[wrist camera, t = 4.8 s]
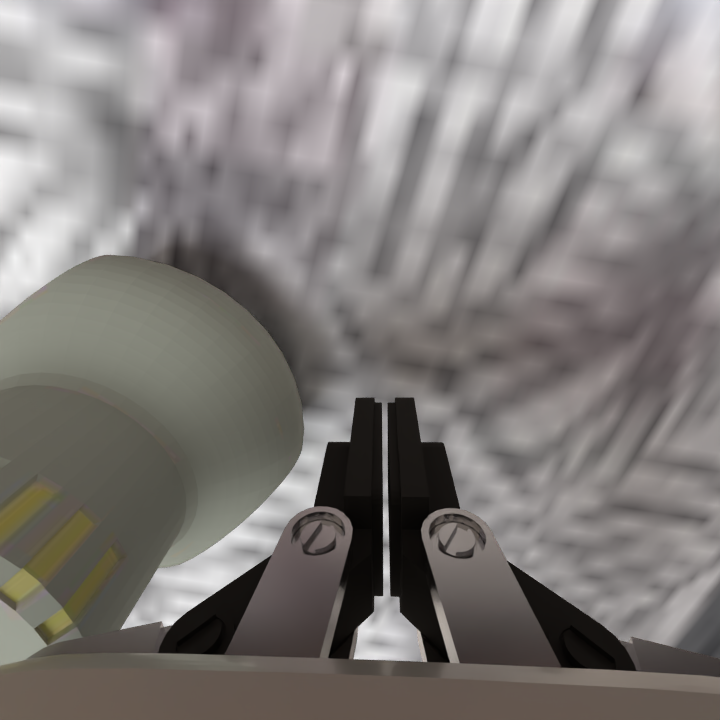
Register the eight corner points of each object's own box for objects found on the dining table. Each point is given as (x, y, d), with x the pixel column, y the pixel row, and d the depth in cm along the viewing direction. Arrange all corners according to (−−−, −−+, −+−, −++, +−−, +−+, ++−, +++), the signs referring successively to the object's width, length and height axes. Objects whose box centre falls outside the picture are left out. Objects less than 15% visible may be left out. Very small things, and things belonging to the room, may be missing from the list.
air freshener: (175, 506, 18) (-29, 817, 9) (24, 384, 16) (-448, 635, 7) (350, 380, 15) (304, 662, 6) (193, 206, 13) (-260, 236, 4)
